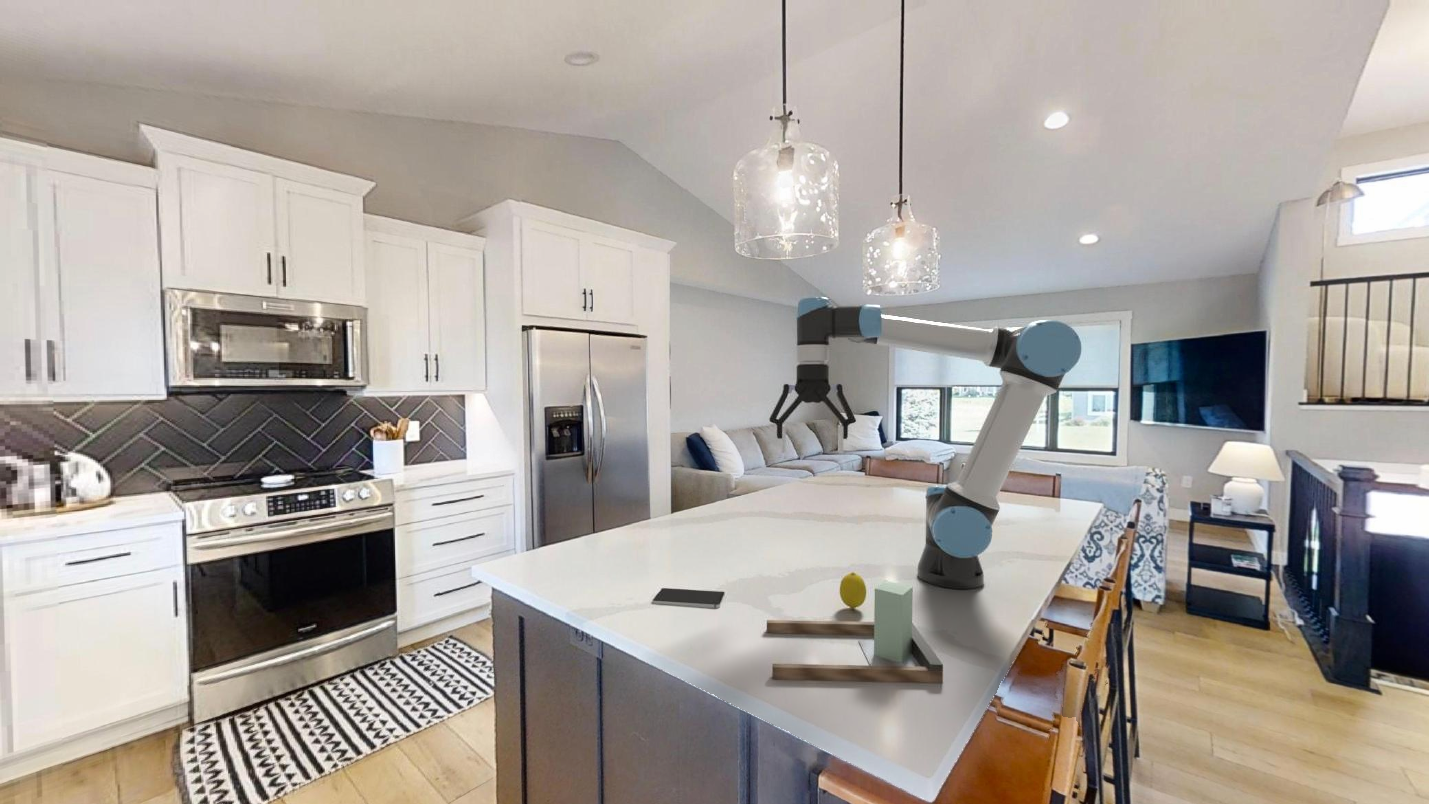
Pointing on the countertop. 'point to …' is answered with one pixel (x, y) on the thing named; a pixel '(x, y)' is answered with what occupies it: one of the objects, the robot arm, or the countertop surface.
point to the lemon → (853, 590)
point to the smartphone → (689, 597)
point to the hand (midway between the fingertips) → (811, 452)
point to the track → (913, 669)
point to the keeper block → (893, 621)
